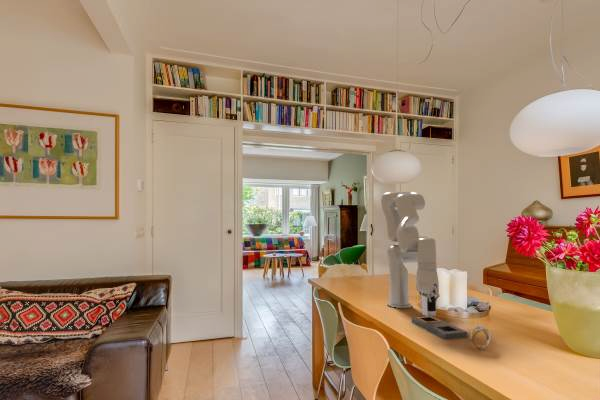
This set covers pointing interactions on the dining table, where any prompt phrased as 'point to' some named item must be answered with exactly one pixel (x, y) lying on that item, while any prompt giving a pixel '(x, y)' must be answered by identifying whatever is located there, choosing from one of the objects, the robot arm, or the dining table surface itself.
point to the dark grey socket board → (439, 327)
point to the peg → (426, 306)
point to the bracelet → (476, 333)
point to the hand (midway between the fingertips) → (428, 309)
